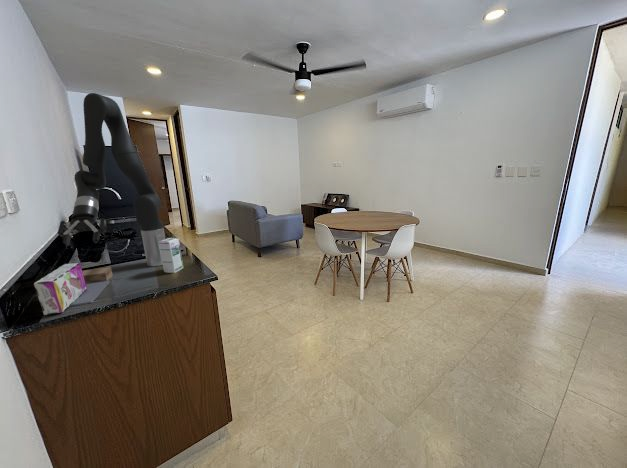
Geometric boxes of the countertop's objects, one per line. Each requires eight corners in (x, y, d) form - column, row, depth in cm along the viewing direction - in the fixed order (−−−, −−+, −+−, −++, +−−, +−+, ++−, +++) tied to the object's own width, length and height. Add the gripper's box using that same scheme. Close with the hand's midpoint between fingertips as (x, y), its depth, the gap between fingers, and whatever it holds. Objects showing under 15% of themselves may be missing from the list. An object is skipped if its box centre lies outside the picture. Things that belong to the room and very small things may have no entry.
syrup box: (175, 273, 110) (169, 241, 107) (163, 272, 111) (157, 240, 108) (184, 268, 116) (179, 237, 112) (172, 267, 117) (167, 237, 113)
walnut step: (112, 275, 109) (110, 266, 108) (107, 281, 103) (105, 272, 102) (83, 279, 105) (81, 270, 104) (76, 286, 99) (73, 277, 98)
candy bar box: (88, 289, 95) (63, 313, 80) (72, 291, 93) (43, 316, 78) (81, 261, 92) (53, 281, 77) (64, 263, 90) (31, 283, 75)
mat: (109, 281, 103) (109, 280, 103) (91, 303, 86) (91, 301, 86) (72, 287, 98) (71, 286, 98) (45, 310, 82) (45, 309, 82)
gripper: (58, 205, 98) (50, 240, 91) (103, 202, 103) (99, 236, 96) (68, 216, 104) (62, 250, 97) (110, 213, 110) (107, 245, 102)
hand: (80, 243), depth 96 cm, fingers open, 8 cm apart
